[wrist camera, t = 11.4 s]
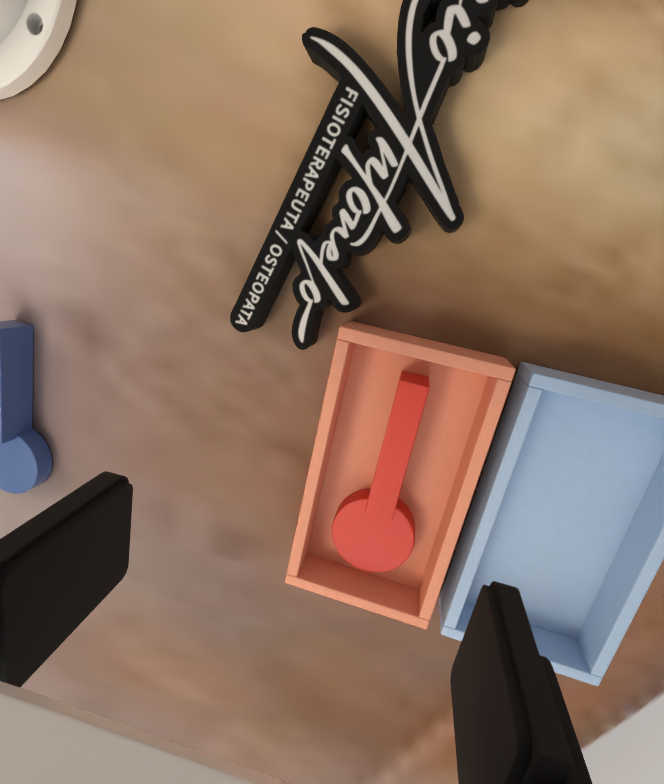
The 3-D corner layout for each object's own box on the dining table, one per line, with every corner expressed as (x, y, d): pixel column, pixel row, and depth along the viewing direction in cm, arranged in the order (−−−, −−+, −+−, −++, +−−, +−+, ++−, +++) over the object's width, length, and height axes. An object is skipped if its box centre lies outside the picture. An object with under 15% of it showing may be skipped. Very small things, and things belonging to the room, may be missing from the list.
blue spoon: (-8, 314, 26) (-45, 317, 24) (56, 331, 26) (23, 335, 24) (-5, 474, 30) (-38, 489, 28) (52, 493, 29) (23, 510, 27)
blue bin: (520, 361, 21) (533, 372, 18) (695, 402, 20) (734, 421, 17) (438, 598, 25) (440, 634, 23) (580, 643, 24) (598, 687, 21)
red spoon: (372, 362, 22) (366, 371, 20) (460, 384, 21) (463, 395, 19) (328, 545, 25) (319, 570, 23) (403, 569, 25) (401, 596, 22)
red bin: (349, 320, 22) (339, 325, 20) (505, 357, 21) (516, 368, 19) (298, 553, 26) (284, 583, 24) (426, 594, 25) (426, 630, 23)
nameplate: (529, -500, 13) (828, -354, 13) (519, -423, 15) (786, -289, 14) (188, 300, 22) (359, 404, 22) (203, 299, 23) (363, 396, 23)
